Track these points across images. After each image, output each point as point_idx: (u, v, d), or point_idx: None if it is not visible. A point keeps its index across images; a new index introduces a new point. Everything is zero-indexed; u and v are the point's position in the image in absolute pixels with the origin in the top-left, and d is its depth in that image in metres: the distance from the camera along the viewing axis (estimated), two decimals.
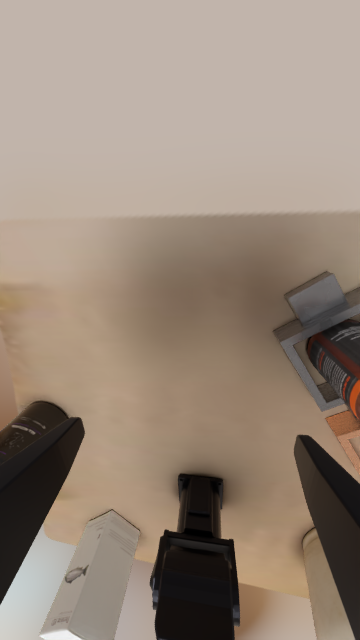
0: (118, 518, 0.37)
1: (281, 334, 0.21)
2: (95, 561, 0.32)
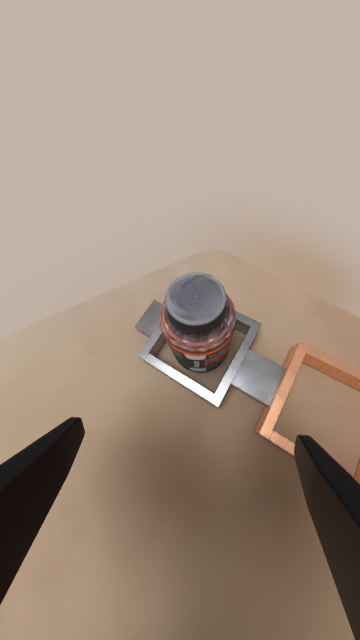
0: None
1: None
2: None
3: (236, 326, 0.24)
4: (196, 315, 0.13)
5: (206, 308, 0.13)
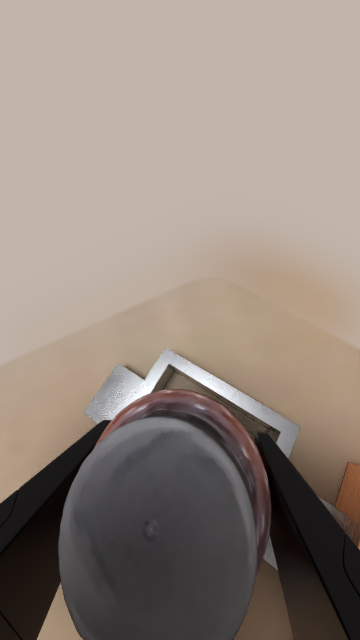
0: None
1: None
2: None
3: (252, 417, 0.14)
4: (151, 633, 0.04)
5: (187, 598, 0.04)
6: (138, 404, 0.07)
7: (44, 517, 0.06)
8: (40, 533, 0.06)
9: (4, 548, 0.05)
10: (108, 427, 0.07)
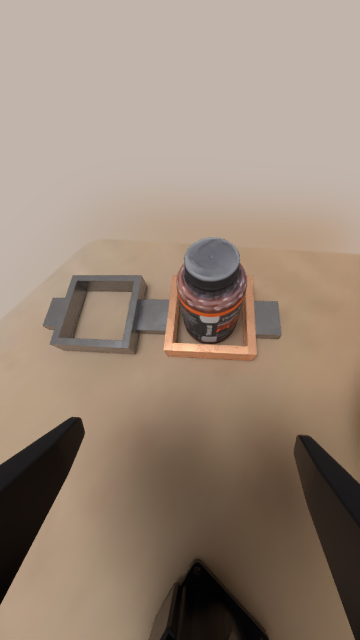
0: None
1: None
2: None
3: (128, 288, 0.28)
4: (213, 272, 0.15)
5: (222, 266, 0.15)
6: None
7: None
8: None
9: None
10: (184, 263, 0.18)
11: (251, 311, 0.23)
